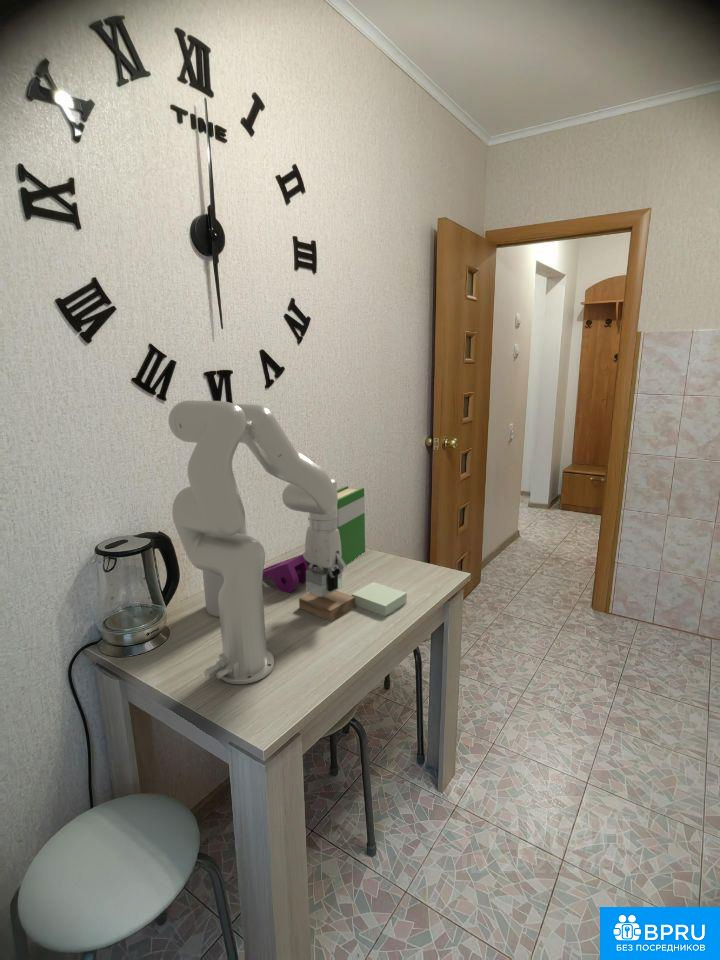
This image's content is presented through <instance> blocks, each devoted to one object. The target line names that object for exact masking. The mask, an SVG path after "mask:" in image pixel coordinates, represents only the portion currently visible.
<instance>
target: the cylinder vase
mask: <svg viewBox="0 0 720 960" xmlns="http://www.w3.org/2000/svg"><path fill="white" fill-rule="evenodd" d="M239 534H244V535H248V532H247V521H246V520H245V524H244V527H243V528H242V530H241V531H240V532H239ZM202 577H203V578H202V579H203V589H204V591H203V592H204V599H205V609H206V612H207V613H208V614H209V615H211V616H213V617H216V618H220V614H219V605H218V596H219V592H220V589H221V587H222V586H223V583H224V578H223V577H222V576H220V575H217V574H213V573H210V572H206V571H203V570H202Z"/></svg>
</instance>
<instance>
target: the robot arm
mask: <svg viewBox="0 0 720 960" xmlns="http://www.w3.org/2000/svg"><path fill="white" fill-rule="evenodd" d="M172 407H173V408H172V409H171V410H170V412H169V416H168V426H169V429H170V432H171V433H172V434H173V435H174V437H176V438H177V439H178V440H180V441H183V442H184V443H185V442H186V443H196V445H195V446H194V448H193V451H192V453H191V455H190V458H189V460H188V464H187V470H186V471H187V479H188V482H189V486H187V487H185V488H183V489H181V490H180V491H179V492H178V493H177V495H175V498H174V500H173V503H172V509H171V510H172V511H171V514H172V520H173V523H174V524H173V525H174V526H175V529H176V532H177V535H178V536H179V539H180V542H181V544H182V547H183V550H184V552H185V555H186V556H187V559H188V561H189V562H190V563H191V565H193V567H195V568H196V569H198V570H201V571H202V572H203V571H206V572H210V573H213V574H217V575H220V576H222V577H223V578H224V583H223V586H222V587H221V589H220V592H219V596H218V605H219V614H220V617H219V621H220V622H219V624H220V625H219V626H220V635H221V645H222V646H221V648H222V653H220V654H219V655H218V661H216V662H215V664H214V665H212V666H209V667H208V668H206V669H204V670H203V674H204V677H205V678H207V679H210V678H211V677H213V676H215V675H216V677H217V679H218V680H222V681H223V682H225V683H227V684H232V685H247V684H251V683H255V682H258V681H260V680H261V679H264V678H265V677H267V676H268V675H269V674H270V673H271V672H272V671H273V669H274V668H275V657H274V655H273V654H272V652H270V651H268V650H267V638H266V637H267V635H266V634H267V633H266V623H265V608H264V607H265V606H264V593H263V580H264V579H263V569H265V561H266V551H265V548H264V546H263V544H262V543H261V542H260V541H259V540H258V539H256V538H255V537H252V536H250V535H248V534H247V535H244V534H239V532H240V531H241V530H242V528H243V527H244V524H245V521H246V512H245V508H244V505H243V504H244V503H243V500H242V498H241V494H240V491H239V488H238V484H237V482H236V479H235V475H234V471H233V459H234V455H235V454H236V453H235V452H236V449H238V446H239V444H240V443H242V444H245V445H246V446H247V447H248V449H249V450H250V451H251V453H252V454H253V455H254V457H255V458H256V460H257V461H258V462H259V464H260V465H261V466H262V468H263V469H264V471H265V472H267V473H268V474H270V476H273V477H275V478H277V479H279V480H281V481H283V482H286V483H289V484H288V485H287V486H285V487H284V488H283V490H282V495H281V498H282V503H283V504H284V506H285V507H287V508H288V509H290V510H292V511H296V512H302V513H309V514H308V515H309V516H308V518H307V520H308V521H309V522H308V523H309V524H308V525H309V526H307V528H306V533H305V543H304V552H303V553H302V554H303V557H304V559H305V560H306V563H307V564H308V566H309V569H310V568H313V567H315V566H320V567H324V568H327V569H328V571H329V575H330V577H328V590H329V591H333V590H335V589H337V588H338V575H340V573H341V572H342V573H343V571H344V570H345V569H346V568H347V565H346V564H345V563H344V561H343V559H342V558H341V556H342V554H341V541H340V534H339V530H338V529H337V503H338V495H337V490H338V483H337V481H336V479H334V478H333V477H332V478H331V477H330V476H329V475H328V473H327V472H326V471H325V470H324V469H323V468H322V467H320V466H319V465H318V464H316V463H315V462H313V461H312V460H311V459H310V458H308V457H307V456H305V455H304V454H302V453H301V452H300V451H299V450H296V448H295V447H294V445H293V443H292V442H291V441H290V439H289V437H288V436H287V435H286V433H285V431H284V429H283V428H282V426H281V424H280V423H279V421H278V420H277V418H276V417H275V415H274V414H273V413H272V411H271V410H270V409H269V408H268V407H266V406H264V405H260V404H259V405H258V404H244V403H243V404H242V403H240V404H239V403H238V404H237V403H233V402H229V401H222V400H183V401H180V402H177V403H176V404H175V405H174V406H172ZM338 565H339V567H338ZM333 567H334V570H335V571H334V572H333V569H332V568H333Z"/></svg>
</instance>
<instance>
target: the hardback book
mask: <svg viewBox="0 0 720 960" xmlns="http://www.w3.org/2000/svg"><path fill="white" fill-rule="evenodd" d="M337 495H338V503H337V529H338V530H339V534H340V541H341V554H342V556H341V558H342V559H343V561H344V563H345V564H346V566H347V565H349V564H351V563H352V562H353V561H355V560H356V559H357V558H359V557H360V556H362V555H363V554H364V552H365V553H366V520H365V519H366V518H365V517H366V516H365V515H366V513H365V488H364V487H360V488H359V489H354V488H349V486H347V485H346V486H345V485H344V486H343V487H340V488H339V489H338V488H337ZM362 553H363V554H362ZM361 554H362V555H361ZM359 555H360V556H359ZM358 556H359V557H358ZM355 558H356V559H355ZM354 559H355V560H354ZM351 561H352V562H351ZM338 566H339V565H338Z"/></svg>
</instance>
